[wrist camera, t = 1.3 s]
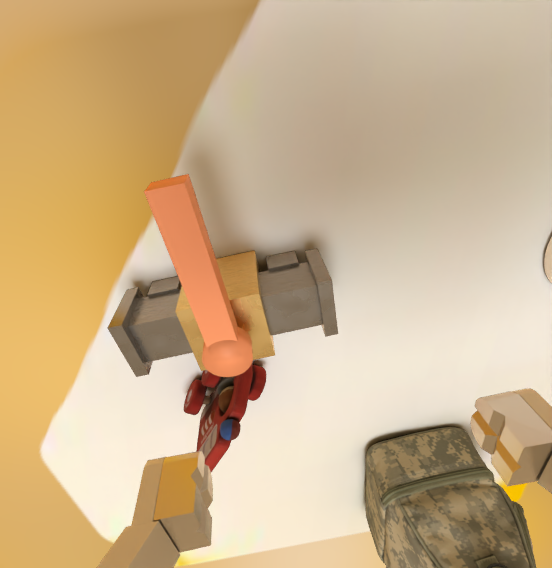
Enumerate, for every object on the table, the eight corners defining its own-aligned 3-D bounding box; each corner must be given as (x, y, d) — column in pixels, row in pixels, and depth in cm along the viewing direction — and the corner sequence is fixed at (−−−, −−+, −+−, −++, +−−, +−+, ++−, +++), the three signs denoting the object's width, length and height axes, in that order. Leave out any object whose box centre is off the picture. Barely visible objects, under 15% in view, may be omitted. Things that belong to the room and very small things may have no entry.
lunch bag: (450, 499, 67) (532, 661, 49) (360, 515, 67) (407, 684, 48) (477, 415, 54) (604, 597, 35) (363, 434, 53) (431, 628, 35)
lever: (256, 354, 30) (257, 371, 28) (211, 363, 30) (210, 381, 28) (200, 171, 21) (197, 179, 20) (138, 185, 21) (130, 194, 20)
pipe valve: (313, 237, 35) (334, 282, 27) (321, 293, 38) (342, 347, 31) (128, 277, 35) (99, 333, 27) (154, 329, 39) (134, 391, 31)
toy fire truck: (273, 351, 42) (283, 425, 33) (228, 412, 47) (226, 490, 39) (221, 333, 40) (217, 407, 31) (180, 399, 45) (167, 478, 36)
